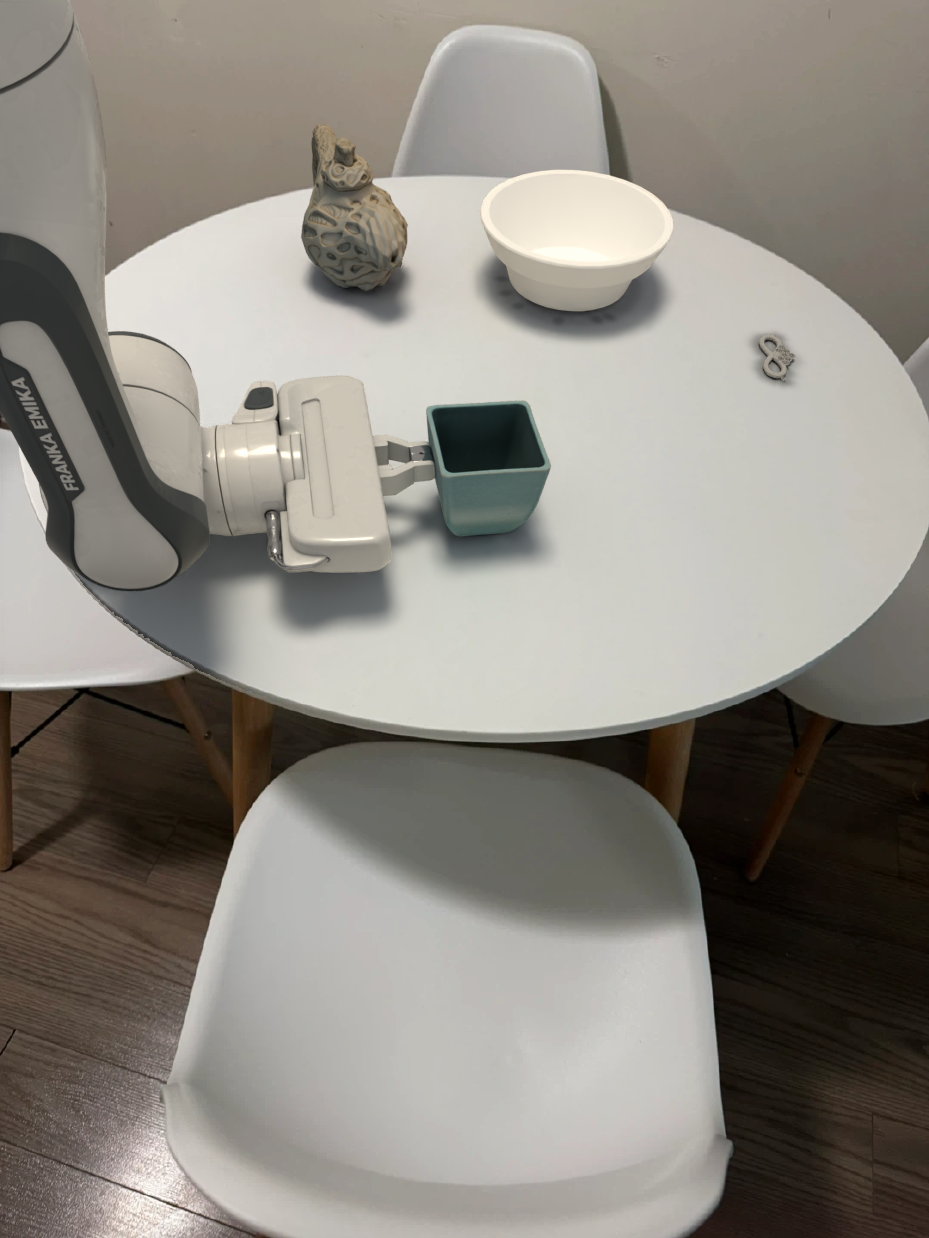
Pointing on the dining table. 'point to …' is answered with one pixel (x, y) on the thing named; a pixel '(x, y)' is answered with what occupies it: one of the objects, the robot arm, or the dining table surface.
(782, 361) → the charm
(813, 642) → the dining table surface
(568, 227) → the bowl
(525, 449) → the flower pot
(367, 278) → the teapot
